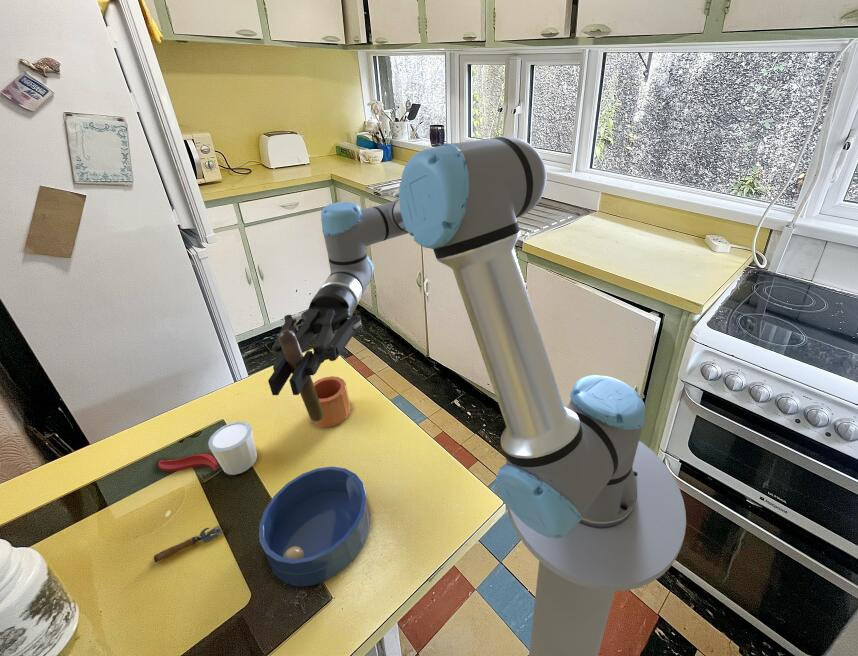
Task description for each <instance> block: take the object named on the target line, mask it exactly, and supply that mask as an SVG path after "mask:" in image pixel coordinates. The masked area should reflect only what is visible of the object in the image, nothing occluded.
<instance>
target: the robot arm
mask: <svg viewBox="0 0 858 656" xmlns="http://www.w3.org/2000/svg"><path fill="white" fill-rule="evenodd" d="M547 177H548V176H547V169H546V165H545V161H544V160H543V157H542V156H541V154H540V153H539V152H538V151H537V149H536V148H535V147H534V146H532V145H531V144H530V143H529V142H527V141H526V140H523V139H521V138H519V137H514V136H504V135H503V136H495V137H491V138H485V139H477V140H476V139H475V140H470V141H469V140H468V141H461V142H454V143H453V142H452V143H448V142H447V143H442V144H440V145H437V146H434V147H430V148H427V149H422V150H420V151H418V152H417V153H415V154H413V156H412V157H411V158H410V159H409V160H408V161H407V162H406V164H405V167H403V170H402V173H401V179H400V182H399V187H398V199H395V200H393V201H390V202H386V203H383V204H380V205H379V204H378V205H376V206H370V207H366V208H362V209H361V207H360V205H359V204H358V203H355V202H351V201H342V202H333V203H330V204H327V205H326V206H324V207H323V208H322V209H321V212H320V217H321V230H322V234H323V239H324V243H325V248H326V252H327V258H328V265H329V269H330V273H329V275H328V277H327V278H326V279H325V281H324V283H323V284H322V285H321V287H320V288H319V290H318V291H317V292H316V293H315V295H314V296H313V298H312V299H311V300H310V303H309V305H308V306H309V307H308V309H306V310H305V311H303V312H302V313H301V315H300V316H299V315H298V316H295V317H293V315H292V314H286V315H284V316H283V318H284V324H283V325H282V327H281V329H280V331H279V333H278V335H277V337H276V339H275V341H274V343H273V344H272V347H271V350H272V353H273V356H274V360H275V362H274V364H273V366H272V369H273V373H272V374H271V375H270V377H269V378H268V380H267V383H268V385H269V388H270V392H271V395H272V396H279V394H280V393H281V391H282V390H283V388H284V386H285V384H286V383H287V382H288V381H289V385H290V388H291V392H292V395H293V396H300V392H301V390H302V388H303V386H304V384H305V383H306V381H307V379H308V377H309V375H310V376H314V375H315V374H317V372H318V370H319V368H320V366H321V365H322V364H323V363H324V362H325V361H328V360H329V361H330V362H335V361H336V360H337V359H338V358H339V356H340V355H341V353H342V352H343V351H344V349H345V348H346V346H347V345H348V344H349V342H350V341H351V339H352V338H353V336H354V335H355V334H356V333H357V332H359V331H360V330H361V329H362V328H363V325H362V319H361V315H360V314H354V312H355V310H356V308H357V306H358V304H359V302H360V301H361V298H362V297H363V295H364V292H365V291H366V290H367V287H368V286H369V285H370V283H371V281H372V278H373V274H374V271H375V269H374V263H373V261H372V259H371V258H370V257H369V255H367V247H369V246H372V245H374V244H377V243H381V242H384V241H387V240H390V239H394V238H397V237H400V236H401V237H402V236H404V235H409V236H411V237H413V241H414V242H415V243H416V244H418V245H419V246H420V247H423V248H425V249H430V250H433V253H434V256H435V258H436V259H435V260H436V261H437V262H439V263H440V264H443V265H445V266H446V267H449V269H451V270H452V273H453V275H454V279H455V281H456V284H457V287H458V290H459V292H460V296H461V299H462V301H463V305H464V307H465V310H466V313H467V316H468V320H469V322H470V324H471V327H472V330H473V334H474V337H475V339H476V343H477V346H478V349H479V351H480V354H481V357H482V359H483V362H484V365H485V368H486V372H487V374H488V377H489V380H490V383H491V385H492V386H491V387H492V389H493V392H494V395H495V397H496V400H497V404H498V406H499V409H500V412H501V415H502V418H503V421H504V425H505V428H504V430H503V431H502V433H501V436H500V446H501V449H502V452H503V454H504V458H505V460H506V462H505V464H503V465H501V466H500V467H499V470H498V471H497V474H496V476H495V484H496V487H497V490H498V492H499V495H500V496H501V498H502V499H503V502H504V503H505V505H506V504H507V505H508V507H509V508H510V509H511V510H512V511H513V513H514V514H515V515H516V516H517V517H518V518H519V519H520V520H521V521H522V522H524V523H525V524H526V525H527V526H529V527H530V528H531V529H533V530H534V531H536V532H537V533H539V534H541V535H544V536H546V537H549V538H561V537H563V536H565V535H566V534H567V533H568V532H569V531H570V530H571V529H572V528H573V527H574V526H575V525H576V524H577V523H580V524H583V525H585V526H588V527H592V528H600V529H604V528H611V527H615V526H618V525H620V524H621V523H623V522H624V521H626V520H627V519H628V518H629V516H630V515H631V513H632V512H633V509H634V506H635V502H636V498H637V487H636V482H635V477H634V476H637V475H638V474H637V472H635V471H633V468H632V466H633V462H634V458H635V454H636V450H637V446H638V442H639V441H640V438H641V434H642V429H643V427H644V425H645V422H646V420H645V415H646V405H645V402H644V401H643V399H642V397H641V395H640V394H639V393H638V392H637V391H636V389H634V388H633V387H632V386H631V385H629V384H628V383H626V382H624V381H622V380H619V379H617V378H614V377H611V376H606V375H598V374H597V375H596V374H592V375H586V376H583V377H581V378H578V380H577V381H575V382H574V384H573V386H572V389H571V391H570V392H569V393H570V394H569V397H570V401H569V403H568V404H567V406H566V407H565V406H564V403H563V400H562V397H561V394H560V390H559V387H558V384H557V380H556V377H555V374H554V371H553V368H552V365H551V361H550V359H549V355H548V351H547V349H546V345H545V343H544V339H543V337H542V333H541V331H540V328H539V324H538V321H537V318H536V314H535V312H534V309H533V305H532V302H531V299H530V295H529V293H528V292H529V291H528V288H527V287H526V283H525V280H524V277H523V274H522V271H521V268H520V267H521V266H520V265H519V261H518V258H517V255H516V251H515V247H516V245H517V244H516V243H517V242H518V239H519V238H520V236H521V229H520V226H519V222H518V218H520V217H522V216H524V215H526V214H528V213H529V212H530V211H532V210H533V209H534V208H535V207H536V206H537V205H538V204H539V202H540V201H541V200H542V197H543V196H544V193H545V190H546V188H547V187H546V186H547V181H548V180H547ZM353 314H354V315H353ZM301 324H302V326H301V327H300V325H301ZM299 327H300V328H299ZM284 330H291V331H293V332H294V333H295V335H296V338H297V341H298V343H299V346H300V349H301V351H302V352H303V351H304V350H305V348H306V347H307V346H308V344H309V343H310V342H311V340H315V339H316V337H317V336H318V337H317V340H316V342H315V344H314V345H311V347H312V350H306V351H305V353H304V354H303V359H302V360H301V362H300V363H299V365H298V367H297V368H296V370H295V372H294V373H293V374H292V372H291V369H290V367H289V364H288V362H287V360H286V357H285V355H284V352H283V350H282V347H281V345H280V342H279V339H278V337H279V334H280V333H281V332H282V331H284ZM296 331H297V332H296ZM507 505H506V506H507Z"/></svg>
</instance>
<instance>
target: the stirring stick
mask: <svg viewBox="0 0 858 656" xmlns="http://www.w3.org/2000/svg"><path fill="white" fill-rule="evenodd" d="M279 333H280V332H279ZM279 333H278V335H279V337H278V336H277V337H278V339H279V342H280V345H281V347H282V350H283V352H284V355H285V357H286V360H287V362H288V364H289V367H290V369H291V372H292V373H291V375H293V373H294V372H295V370H296V368H297V367H298V365H299V363H300V362H301V360H302V359H303V357H304V353H303V350H302V351H301V349H300V346H299V343H298V341H297V338H296V335H295V334H296V332H295V333H294V332H293V331H291V330H284V331H282V332H281V333H280V334H279ZM313 383H314V381H313V379H312V375H309V377H308V379H307V381H306V383H305V384H304V386H303V388H302V390H301V392H300V393H299V395H300V397H301V399H302V402H303V404H304V407H305V409H306V412H307V414H308V416H309V419H310V420H311V421H312V422H314V421H315V422H316V421H320V420H321V419H322V418H323V416H324V412H323V409H322V406H321V403H320V401H319V398H318V395H317V392H316V390H315V387H314V384H313Z"/></svg>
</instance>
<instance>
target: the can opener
mask: <svg viewBox="0 0 858 656" xmlns="http://www.w3.org/2000/svg"><path fill="white" fill-rule="evenodd" d="M209 529H210V527H205V528H203V530H201V531H200V533H199V536H198V535H195V536H192V537H191V538H188V539H187V540H184V541H183V542H180V543H178V544H175V545H172V546H170V547H168V548H166V549H164V550H162V551H160V552H158V553H156V554H155V555H154V556H153V561H154V563H158V562H161V561H163V560H165V559H167V558H169V557H171V556H174V555H175V554H177V553H179V552H180V551H182V550H184V549H187V548H190V547H191V546H194V545H195V544H196V543H198V542H199V541H201V542H203V543H209V542H211V541H214V540H216V539H217V538H218V537H220V536H221V535H222V534H223V533H224V531H225V529H223V530H221V527H220V526H219V525H217V526H215V527H213V528H212V529H210V530H209ZM207 530H209V531H207ZM206 531H207V532H206Z"/></svg>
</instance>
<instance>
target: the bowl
mask: <svg viewBox="0 0 858 656" xmlns="http://www.w3.org/2000/svg"><path fill="white" fill-rule="evenodd" d="M258 527H259V529H258V530H259V531H258V533H259V534H258V535H259V538H258V539H259V543H260V545H261V548H262V550H263V553H264V555H265V557H266V559H267V562H268V564H269V566H270V569H271V570H272V572H273V574H274V576H276V578H278V579H279V580H281V581H282V582H283V583H284V584H287V585H291V586H293V587H311V586H316V585H319V584H322V583H324V582H327V581H329V580H331V579H333V578H334V577H336V576H337V575H339V574H341V573H342V572H343V571H344V570H346V569H347V568H348V567H349V566H350V565H351V564H352V563H353V562H354V560H356V558H357V557H358V555H359V554H360V553H361V551H362V549H364V546H365V544H366V542H367V540H368V536H369V533H370V530H371V512H370V506H369V502H368V497H367V492H366V488H365V485H364V482H363V481H362V480H361V478H360V477H359V476H358V475H357V473H355V472H353V471H351V470H349V469H347V468H345V467H338V466H325V467H324V466H323V467H318V468H314V469H311V470H309V471H306V472H304V473H301V474H299V475H297V476H296V477H295V478H293V479H291V480H290V481H288V482H287V483H286V484H285V485H283V486H282V487H281V488H280V489H279V491H278V492H276V493H275V494H274V495H273V497H272V499H271V500H270V501H269V502H268V504H267V505H266V507H265V508H264V511H263V513H262V516H261V519H260V521H259V526H258ZM293 546H298V547H300V548H302V549H303V551H304V558H299V559H291V558H285V557H283V555H284V553H285V552H286V551H287V550H288V549H289V548H291V547H293Z"/></svg>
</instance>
